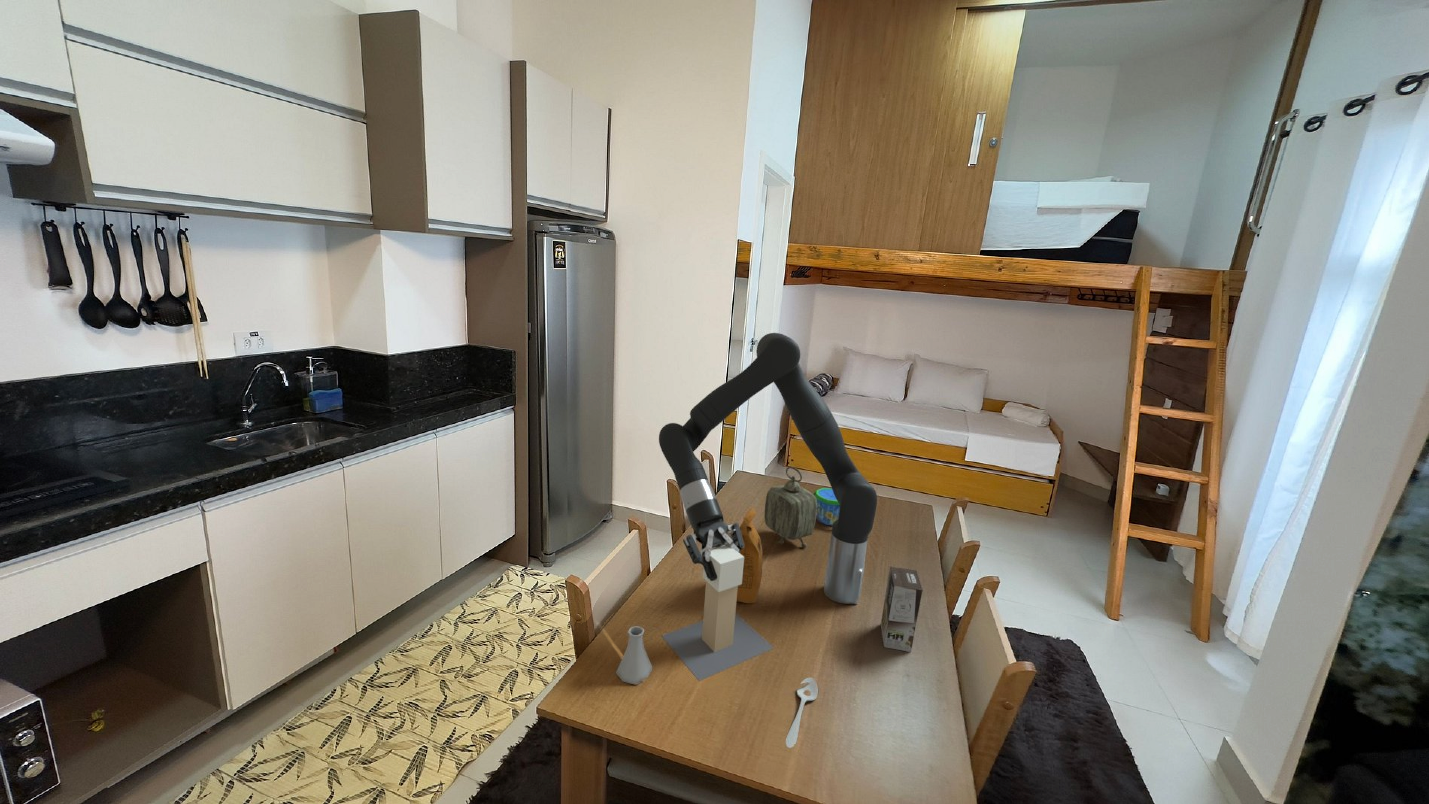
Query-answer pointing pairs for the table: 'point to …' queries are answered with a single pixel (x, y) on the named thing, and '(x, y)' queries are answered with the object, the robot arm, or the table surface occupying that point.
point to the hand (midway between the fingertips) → (727, 575)
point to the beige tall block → (719, 617)
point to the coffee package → (750, 561)
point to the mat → (710, 662)
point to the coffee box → (901, 608)
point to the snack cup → (827, 506)
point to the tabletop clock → (791, 510)
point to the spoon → (794, 728)
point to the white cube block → (726, 568)
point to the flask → (634, 659)
